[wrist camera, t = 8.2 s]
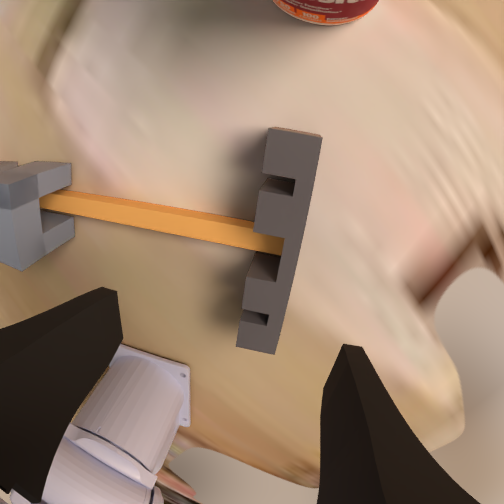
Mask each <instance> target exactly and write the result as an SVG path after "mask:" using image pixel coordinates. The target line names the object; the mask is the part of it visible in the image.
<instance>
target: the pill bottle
mask: <svg viewBox="0 0 504 504" xmlns="http://www.w3.org/2000/svg"><path fill="white" fill-rule="evenodd" d="M272 1H273V2H274V3H275V4H276V5H277V6H278V7H279V8H280V9H282V10H283V11H284V12H286V13H287V14H289V15H291V16H292V17H295V18H297V19H299V20H302V21H305V22H309V23H313V24H319V25H341V24H345V23H350V22H353V21H355V20H358V19H360V18H362V17H363V16H365V15H366V14H368V13H369V12H370V11H371V10H372V9H373V8H374V7H375V5H376V4H377V2H378V1H379V0H272Z"/></svg>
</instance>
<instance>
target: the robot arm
mask: <svg viewBox="0 0 504 504" xmlns="http://www.w3.org/2000/svg"><path fill="white" fill-rule="evenodd" d="M122 340H123V333H122V326H121V319H120V312H119V304H118V296H117V291H114V290H111V289H108V288H104V287H100V288H98V289H95V290H92V291H90V292H88V293H85V294H83V295H81V296H79V297H76V298H74V299H72V300H70V301H68V302H65V303H63V304H61V305H59V306H57V307H54V308H52V309H50V310H48V311H46V312H43V313H41V314H38V315H36V316H34V317H31V318H29V319H26V320H24V321H22V322H19V323H16V324H14V325H11V326H8V327H5V328H2V329H0V489H2V490H3V491H4V492H5V493H6V494H9V493H10V491H11V495H10V500H11V502H12V504H163V503H164V502H163V497H162V495H161V491H160V489H159V488H158V487H156V486H154V484H155V482H156V479H157V476H156V475H155V474H156V473H157V472H158V471H159V470H160V469H161V467H162V465H163V463H164V460H165V458H166V456H167V453H168V451H169V449H170V446H171V444H172V442H173V439H174V437H175V434H176V432H177V430H178V427H179V425H181V426H184V427H189V426H190V424H191V419H190V368H189V367H188V366H187V365H185V364H181V363H178V362H174V361H171V360H168V359H165V358H161V357H158V356H155V355H152V354H149V353H146V352H143V351H140V350H137V349H134V348H131V347H128V346H125V345H123V344H121V342H122ZM108 365H109V367H110V369H109V370H108V372H107V373H106V374H105V376H104V377H103V379H102V380H101V381H100V383H99V384H98V386H97V387H96V389H95V390H94V391H93V393H92V394H91V396H90V397H89V399H88V400H87V402H86V403H85V404H84V406H83V407H82V409H81V410H80V412H79V413H78V415H77V416H76V418H75V419H74V421H73V422H72V424H71V423H70V422H71V420H72V418H73V416H74V414H75V413H76V411H77V409H78V408H79V406H80V405H81V403H82V402H83V400H84V399H85V398H86V396H87V395H88V393H89V392H90V391H91V389H92V388H93V386H94V385H95V384H96V382H97V381H98V379H99V378H100V377H101V375H102V374H103V372H104V371H105V369H106V368H107V367H108ZM0 504H7V503H6V502H5V501H4V500H3V499H1V498H0ZM317 504H480V503H479V502H477V501H476V500H475V499H474V498H473V497H472V496H471V495H469V494H468V493H467V492H466V491H465V490H464V489H462V488H461V487H460V486H459V485H458V484H457V483H456V482H455V481H454V480H453V479H452V478H451V477H450V476H449V475H448V474H447V473H446V472H445V471H444V469H443V468H442V467H441V466H440V465H439V464H438V463H437V462H436V461H435V459H434V458H433V457H432V456H431V455H430V453H429V452H428V451H427V450H426V448H425V447H424V446H423V445H422V443H421V442H420V441H419V439H418V438H417V437H416V435H415V434H414V433H413V431H412V430H411V428H410V427H409V425H408V424H407V422H406V421H405V419H404V418H403V416H402V415H401V413H400V412H399V410H398V409H397V407H396V405H395V404H394V402H393V400H392V399H391V397H390V395H389V394H388V392H387V390H386V389H385V387H384V385H383V383H382V382H381V380H380V378H379V376H378V374H377V373H376V371H375V369H374V367H373V365H372V364H371V362H370V360H369V358H368V356H367V355H366V353H365V351H364V349H363V348H362V347H360V346H354V345H347V344H343V345H342V347H341V350H340V352H339V354H338V357H337V359H336V361H335V364H334V366H333V368H332V370H331V373H330V375H329V377H328V379H327V381H326V383H325V386H324V388H323V397H322V406H321V416H320V485H319V494H318V500H317Z"/></svg>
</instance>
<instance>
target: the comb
mask: <svg viewBox="0 0 504 504" xmlns="http://www.w3.org/2000/svg"><path fill="white" fill-rule="evenodd" d="M321 143H322V137H321V136H320V135H318V134H313V133H308V132H302V131H297V130H291V129H285V128H279V127H272V128H268V135H267V141H266V148H265V155H264V161H263V168H262V173H265V174H271V175H276V176H282V177H287V178H292V179H296V181H295V183H292V182H287V181H281V180H276V179H270V178H267V180H266V181H265V183H264V184H263V186H262V187H261V188H260V190H259V194H258V201H257V208H256V214H255V221H254V228H253V232H256V233H261V234H266V235H271V236H276V237H281V238H285V240H284V245H283V250H282V255H281V257H279V256H274V255H269V254H264V253H259V252H256V253H255V256H254V258H253V261H252V263H251V266H250V268H249V271H248V273H247V276H246V282H245V288H244V295H243V302H242V309H244V310H243V313H242V315H241V318H240V322H239V329H238V336H237V342H236V347H241V348H245V349H250V350H254V351H259V352H263V353H268V354H273V355H275V351H276V347H277V344H278V340H279V336H280V332H281V328H282V324H283V320H284V316H285V312H286V308H287V304H288V300H289V296H290V291H291V287H292V283H293V279H294V274H295V270H296V266H297V261H298V257H299V252H300V248H301V243H302V239H303V234H304V230H305V225H306V220H307V215H308V211H309V206H310V201H311V196H312V191H313V186H314V181H315V176H316V170H317V165H318V160H319V154H320V149H321Z"/></svg>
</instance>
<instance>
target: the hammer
mask: <svg viewBox="0 0 504 504" xmlns="http://www.w3.org/2000/svg"><path fill="white" fill-rule="evenodd" d="M15 167H18V162H10V161H0V173H1V172H3V171H6V170H9V169H12V168H15ZM39 205H40V208H45V209H50V210H55V211H60V212H65V213H71V214H76V215H81V216H86V217H91V218H96V219H101V220H106V221H111V222H116V223H121V224H126V225H131V226H136V227H141V228H146V229H151V230H156V231H161V232H166V233H171V234H176V235H181V236H186V237H191V238H196V239H201V240H206V241H211V242H216V243H221V244H226V245H231V246H236V247H241V248H246V249H251V250H256V251H261V252H266V253H270V254H275V255H280V256H281V255H282V250H283V245H284V240H285V238H281V237H276V236H271V235H266V234H261V233H256V232H253V228H254V222H252V221H247V220H242V219H237V218H231V217H226V216H220V215H215V214H209V213H204V212H198V211H192V210H187V209H181V208H175V207H169V206H163V205H157V204H151V203H145V202H139V201H133V200H127V199H120V198H114V197H108V196H101V195H94V194H88V193H81V192H74V191H67V190H60V189H59V190H56V191H54V192H51V193H49V194H47V195H44V196H42V197H40V198H39Z"/></svg>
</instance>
